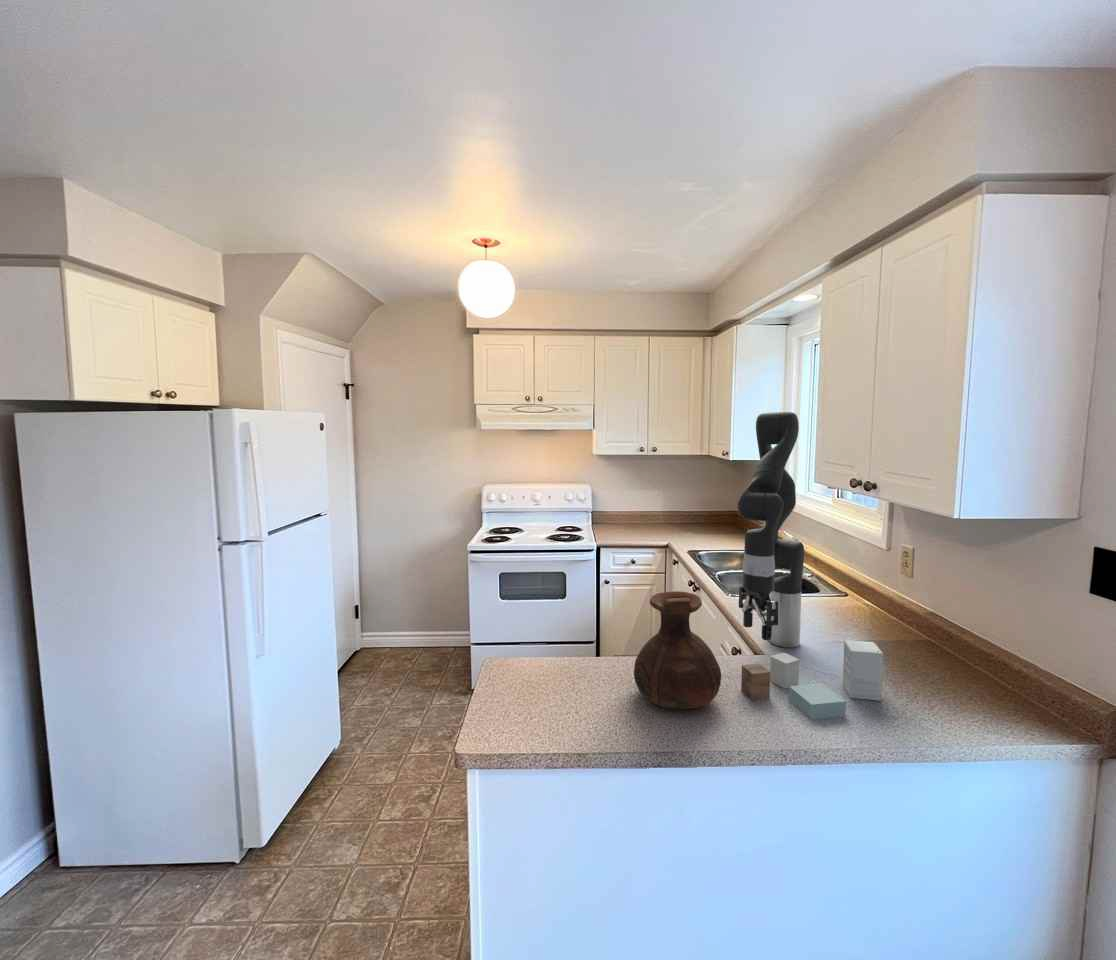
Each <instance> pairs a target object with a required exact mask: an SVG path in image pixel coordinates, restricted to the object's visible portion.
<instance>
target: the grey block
mask: <svg viewBox="0 0 1116 960" xmlns="http://www.w3.org/2000/svg"><path fill="white" fill-rule="evenodd" d="M769 671H770V683H771V682H772V683H773V684H775V685H776V686H780V687H781V688H782V689H789V686H796V685H800V683H799V682H800V681H799V678H800V676H799V675H800V659H798V658H796V657H794V656H792V655H790V654H788V653H786V652H781V653H778V654H773V655H771V656H770V670H769Z"/></svg>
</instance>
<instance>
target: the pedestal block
mask: <svg viewBox="0 0 1116 960" xmlns="http://www.w3.org/2000/svg"><path fill="white" fill-rule="evenodd" d="M788 701H789V702H791V704H793V705H794V706H795V707H796V708H797V709H798V710H799V711H801V712H802V713H803V714H804V715H805V716H806V717H807V718H809V719H810V720H818V719H819V720H820V719H828V718H839V717H845V716H846V711H847V710H846V709H847V701H846V700H845V699H844V698H843V697H841V696H840V695H838V694H837V693H835V692H834V691H833V690H831V688H830V687H828V686H826V685H825V684H824V683H822V682H819V683H813V684H812V683H809V684H799V685H796V686H789V688H788Z"/></svg>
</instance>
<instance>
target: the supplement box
mask: <svg viewBox="0 0 1116 960" xmlns="http://www.w3.org/2000/svg"><path fill="white" fill-rule="evenodd" d="M842 664H843V665H842V667H843V669H842V686H843V688H844V689H845V691H846V693H847V695H848V696H849V698H850V699H860V700H869V701H879V702H881V701H882V689H883V668H884V652H882V650H881V649H880V648H879V647H878V645H877V644H876V643H875V642H874V641H861V640H860V641H859V640H849V639H844V641H843V663H842Z"/></svg>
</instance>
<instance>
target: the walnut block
mask: <svg viewBox="0 0 1116 960" xmlns="http://www.w3.org/2000/svg"><path fill="white" fill-rule="evenodd" d="M740 687H741V689H740V691H741V692H742V693H743V694H744V695H746V697H748V699H750V700H751V701H755V700H764V699H765V700H766V699H770V697H771V696H770V693H771V691H770V690H771V681H770V670H769V669H767V668H766V667H765V666H763V665H762V664H761V663H752V664H751V663H750V664H742V665H741V684H740Z"/></svg>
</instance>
